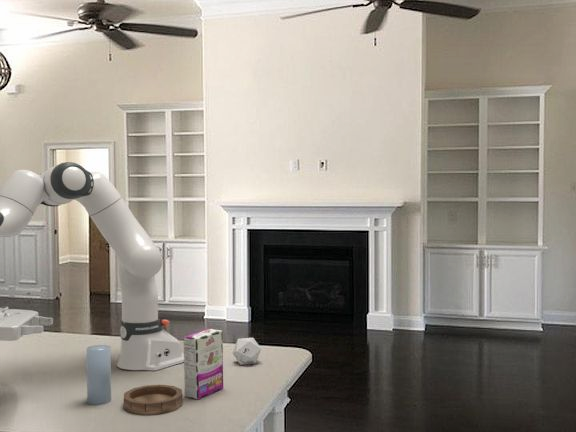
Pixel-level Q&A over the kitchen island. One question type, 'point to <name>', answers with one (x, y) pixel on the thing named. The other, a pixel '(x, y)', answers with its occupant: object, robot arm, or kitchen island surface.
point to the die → (246, 351)
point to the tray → (152, 399)
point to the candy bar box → (203, 363)
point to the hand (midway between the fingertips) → (47, 325)
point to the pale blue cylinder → (98, 374)
